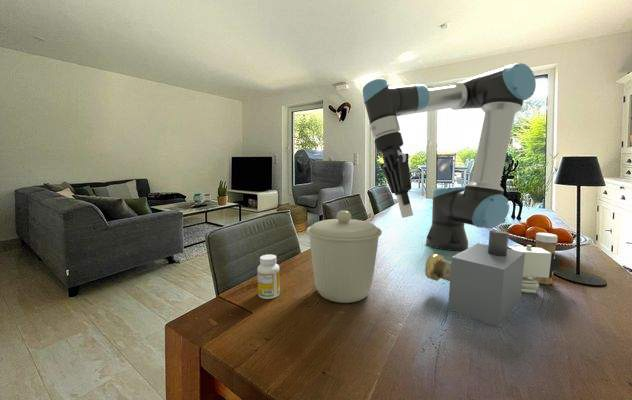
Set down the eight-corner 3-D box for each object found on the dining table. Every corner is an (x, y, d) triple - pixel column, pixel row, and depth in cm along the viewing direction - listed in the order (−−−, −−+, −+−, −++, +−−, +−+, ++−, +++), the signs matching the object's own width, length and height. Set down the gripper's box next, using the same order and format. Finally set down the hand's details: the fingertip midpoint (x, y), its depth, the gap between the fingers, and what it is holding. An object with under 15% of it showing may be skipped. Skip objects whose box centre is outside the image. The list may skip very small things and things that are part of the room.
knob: (424, 281, 71) (425, 256, 70) (436, 274, 75) (437, 251, 74) (464, 294, 64) (466, 266, 63) (474, 285, 68) (476, 260, 68)
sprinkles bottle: (540, 285, 77) (545, 236, 75) (527, 278, 81) (531, 232, 79) (556, 284, 77) (562, 236, 75) (542, 278, 81) (547, 231, 79)
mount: (447, 308, 64) (450, 256, 63) (473, 287, 75) (476, 243, 74) (499, 327, 57) (504, 269, 55) (520, 301, 68) (524, 252, 66)
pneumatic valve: (556, 297, 70) (561, 249, 68) (503, 292, 72) (507, 246, 71) (543, 287, 75) (548, 243, 74) (494, 283, 77) (497, 240, 76)
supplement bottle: (271, 287, 75) (270, 251, 74) (284, 294, 71) (283, 256, 70) (253, 294, 71) (252, 256, 70) (266, 301, 67) (265, 262, 66)
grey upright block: (490, 250, 67) (492, 229, 67) (508, 253, 65) (510, 231, 64) (485, 253, 65) (487, 231, 64) (503, 257, 62) (505, 234, 62)
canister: (324, 319, 60) (324, 220, 57) (297, 285, 77) (296, 207, 74) (395, 303, 67) (398, 214, 64) (356, 275, 83) (357, 203, 81)
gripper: (366, 144, 87) (385, 219, 86) (384, 130, 74) (407, 219, 73) (389, 139, 88) (408, 213, 87) (410, 125, 75) (432, 212, 75)
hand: (407, 216), depth 80 cm, fingers closed
